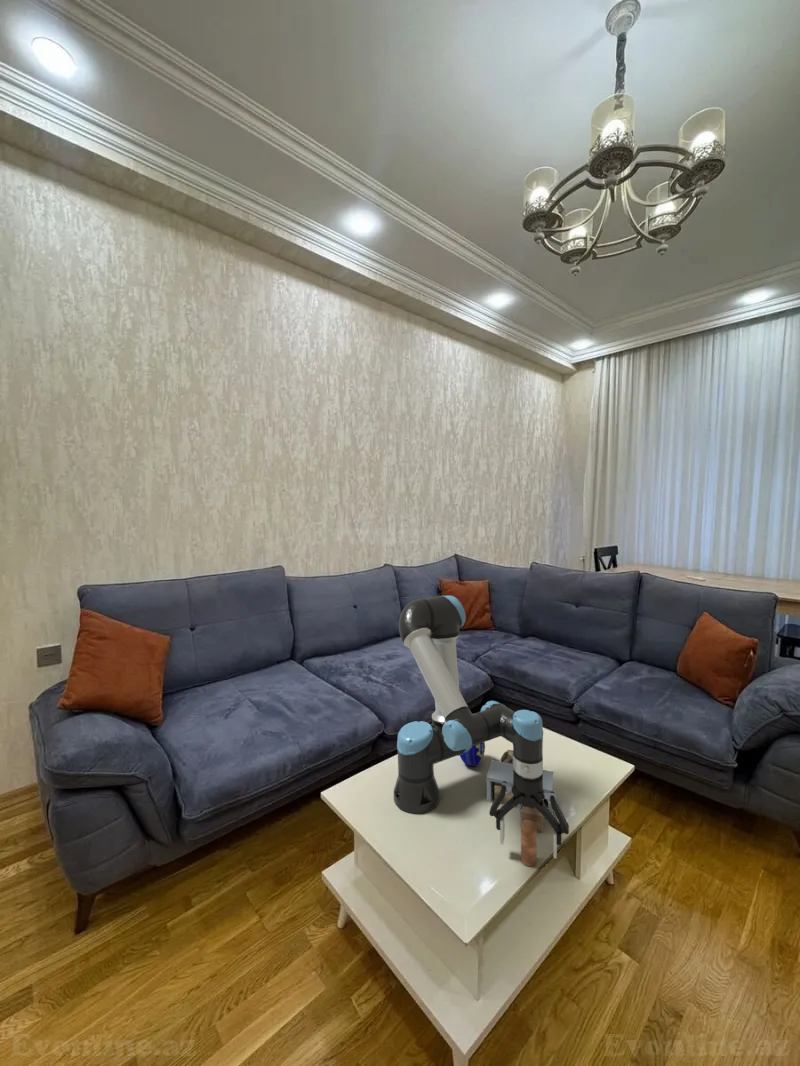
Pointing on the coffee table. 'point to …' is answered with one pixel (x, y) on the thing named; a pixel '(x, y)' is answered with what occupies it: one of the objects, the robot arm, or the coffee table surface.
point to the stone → (507, 757)
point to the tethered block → (530, 834)
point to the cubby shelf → (505, 773)
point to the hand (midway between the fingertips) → (528, 847)
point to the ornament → (474, 754)
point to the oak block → (498, 788)
